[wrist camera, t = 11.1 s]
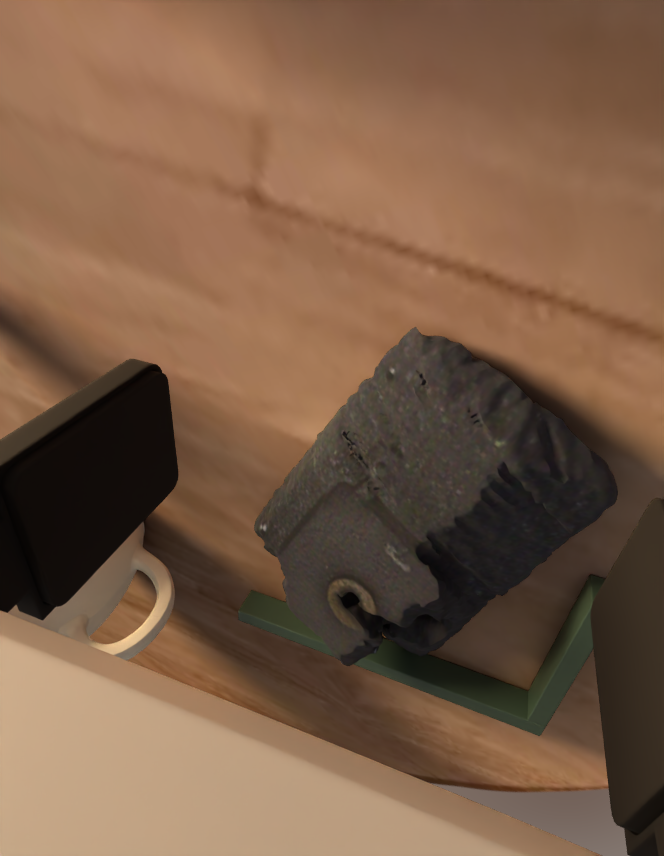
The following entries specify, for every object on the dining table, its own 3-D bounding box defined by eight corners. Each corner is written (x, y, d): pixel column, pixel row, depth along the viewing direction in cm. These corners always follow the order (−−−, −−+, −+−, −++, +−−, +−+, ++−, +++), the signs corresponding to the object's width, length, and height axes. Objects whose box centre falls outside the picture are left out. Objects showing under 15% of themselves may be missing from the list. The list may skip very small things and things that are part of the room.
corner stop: (251, 599, 41) (238, 620, 40) (250, 471, 34) (234, 490, 32) (540, 706, 36) (540, 737, 34) (612, 580, 29) (616, 611, 27)
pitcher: (217, 598, 43) (103, 764, 32) (45, 529, 47) (-109, 656, 36) (215, 501, 37) (74, 665, 26) (18, 432, 41) (-177, 548, 30)
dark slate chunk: (671, 484, 25) (693, 551, 21) (409, 653, 38) (394, 713, 34) (418, 296, 24) (395, 329, 21) (243, 533, 37) (209, 580, 34)
